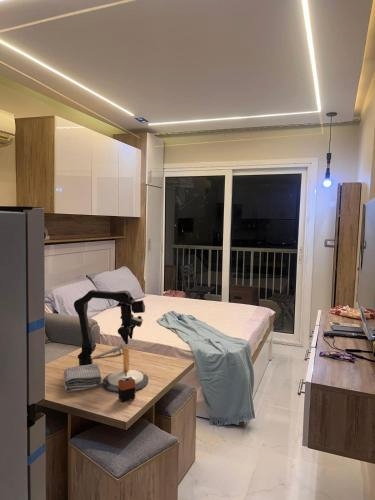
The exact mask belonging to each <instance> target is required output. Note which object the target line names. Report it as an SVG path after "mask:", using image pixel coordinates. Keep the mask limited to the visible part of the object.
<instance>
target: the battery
mask: <svg viewBox="0 0 375 500" xmlns="http://www.w3.org/2000/svg"><path fill="white" fill-rule="evenodd" d="M118 386H119V393H118V400H120V402H121V403H123V402H127V401H130V400H131V401H132V400H134V399H136V391H135V380H134V379H133V378H132V377H129V378H122V379H121V380H119V381H118Z"/></svg>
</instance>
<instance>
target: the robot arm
mask: <svg viewBox="0 0 375 500" xmlns="http://www.w3.org/2000/svg"><path fill="white" fill-rule="evenodd" d="M92 299H102V300H111V301H112V300H113V301H115V302H118V303H117V304H116V307H117V308H118V307H119V308H120V315H121V316H120V320H121V324H120V326H119V328H118V329H117V334H118V335H119V336H120V337H121V339H122V340H123V342H124V344H126V345H128V344H129V339H131V340H132V339H133V334H134V329H135V327H139V328H141V326H142V324H143V322H144V319H143V317H142V316H141V315H138V316H137V317H135V316H134V314H143V313H145V311H146V305H145V303H144V300H143V299H141V300H136V299H135V298H134V297H133V296H132V295H131V293H130V291H129V290H118V291H117V290H116V291H109V290H108V291H107V290H97V289H91V290H89V291H88V292H87V293H86V294H84V295H83V296H82V297H80V298H78V299H76V300H75V301H74V302H73V307H74V310H75V312H76V314H77V315H78V321H79V326H80V332H81V338H82V341H81V342H82V343H81V352H80V353H79V354H78V355H77V359H78V363H79V364H78V366H83V365H90V364H94V363H93V362H94V361H93V360H94V359H92V358H93V355H92V354H93V353H94V352H95V350H96V347H97V345H96V340H95V339H93V338H92V335H91V330H90V324H89V318H88V308H89V302H90V301H91V300H92Z"/></svg>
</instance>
